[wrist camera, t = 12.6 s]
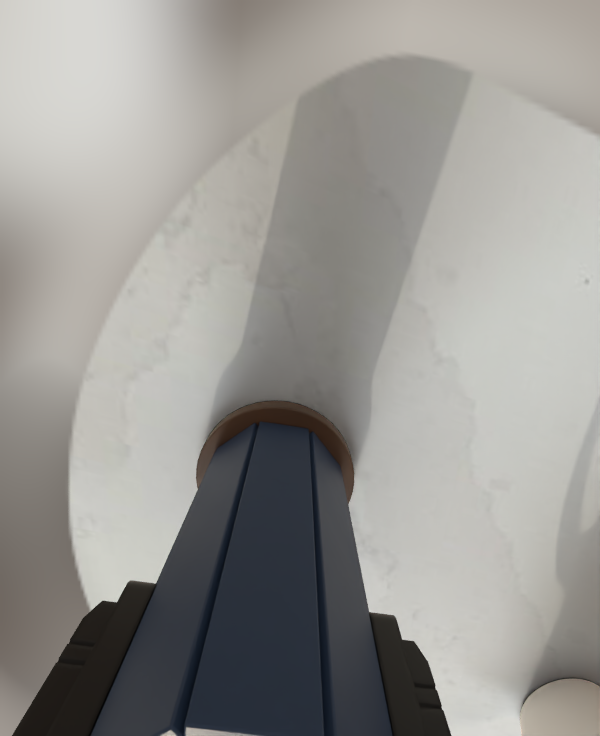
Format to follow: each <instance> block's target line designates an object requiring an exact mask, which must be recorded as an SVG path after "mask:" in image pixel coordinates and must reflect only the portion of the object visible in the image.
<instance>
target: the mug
mask: <svg viewBox="0 0 600 736" xmlns="http://www.w3.org/2000/svg"><path fill="white" fill-rule="evenodd" d="M520 726H521V736H600V686H598V685H596V684H595V683H592V682H590V681H587V680H582V679H561V680H557V681H553V682H550V683H548V684H546V685H544V686H542V687H540V688H538V689H537V690H536V691H534V692H533V693H532V694H531V695H530V696H529V697H528V698H527V700H526V701H525V703H524V704H523V706H522V709H521V713H520Z"/></svg>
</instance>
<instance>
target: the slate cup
mask: <svg viewBox="0 0 600 736" xmlns="http://www.w3.org/2000/svg"><path fill="white" fill-rule="evenodd" d="M156 584H157V585H156V588H155V590H154V592H153V595H152V597H151V599H150V601H149V604H148V606H147V608H146V610H145V613H144V615H143V617H142V620H141V622H140V624H139V626H138V629H137V631H136V633H135V635H134V638H133V640H132V642H131V645H130V647H129V649H128V651H127V654H126V656H125V658H124V660H123V663H122V665H121V667H120V669H119V672H118V674H117V676H116V679H115V681H114V683H113V685H112V688H111V690H110V692H109V694H108V697H107V699H106V701H105V704H104V706H103V708H102V710H101V713H100V715H99V717H98V719H97V722H96V724H95V726H94V729H93V731H92V733H91V735H90V736H393V735H392V730H391V725H390V720H389V715H388V709H387V704H386V699H385V694H384V689H383V684H382V679H381V673H380V668H379V663H378V658H377V653H376V648H375V642H374V637H373V632H372V627H371V622H370V617H369V610H368V604H367V599H366V594H365V589H364V584H363V579H362V574H361V568H360V563H359V558H358V553H357V548H356V543H355V538H354V533H353V527H352V522H351V517H350V512H349V507H348V502H347V497H346V491H345V486H344V481H343V476H342V471H341V467H340V465H339V464H338V462H337V461H336V460H335V459H334V457H333V456H332V455H331V453H330V452H329V451H328V450H327V448H326V447H325V446H324V444H323V443H322V442H321V441H320V439H319V438H318V437H317V435H316V434H315V433H314V432H313V431H312V432H311V433H309V429H308V428H301V427H294V426H288V425H281V424H274V423H268V422H260V423H259V426H258V425H257V424H256V423H253V424H252V425H251V426H249V427H248V428H246V429H245V430H243V431H242V432H240V433H239V434H237V435H236V436H234V437H233V438H231V439H230V440H229V441H227V442H226V443H224V444H223V445H221V446H220V447H218V448H217V450H216V452H215V453H214V455H213V457H212V459H211V461H210V464H209V466H208V468H207V470H206V473H205V475H204V477H203V479H202V482H201V484H200V486H199V488H198V491H197V493H196V495H195V497H194V500H193V502H192V504H191V506H190V509H189V511H188V513H187V515H186V518H185V520H184V522H183V524H182V527H181V529H180V531H179V533H178V536H177V538H176V540H175V542H174V545H173V547H172V549H171V551H170V554H169V556H168V558H167V560H166V563H165V565H164V567H163V569H162V572H161V574H160V576H159V578H158V581H157V583H156Z"/></svg>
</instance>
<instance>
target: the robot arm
mask: <svg viewBox="0 0 600 736" xmlns="http://www.w3.org/2000/svg"><path fill="white" fill-rule="evenodd" d="M156 585H157V584H154V583H147V582H139V581H129V582H128V584H127V585H126V587H125V589H124V591H123V592H122V594H121V596H120V598H119V600H118V602H117V603H116V602H108V601H102V602H101V603H99V604H98V605H97V606H96V607H95V608H94V609H93V610H92V611H91V612H89V613H88V614H87V615H86V616H85V617H84V618H83V619H82V621H81V623H80V624H79V626H78V628H77V629H76V631H75V632H74V634H73V636H72V637H71V639H70V642H69V644H67V646H66V647H65V649H64V651H63V652H62V654H61V656H60V657H59V661H58V662H57V663H56V664H55V666H54V667H53V669H52V671H51V672H50V674H49V676H48V677H47V679H46V681H45V682H44V684H43V685H42V687H41V689H40V690H39V692H38V694H37V695H36V697H35V699H34V700H33V702H32V704H31V706H30V707H29V709H28V710H27V712H26V713H25V715H24V717H23V719H22V720H21V722H20V723H19V725H18V727H17V728H16V730H15V732H14V733H13V735H12V736H90V735H91V733H92V731H93V729H94V726H95V724H96V722H97V719H98V717H99V715H100V713H101V710H102V708H103V706H104V704H105V701H106V699H107V697H108V694H109V692H110V690H111V688H112V685H113V683H114V681H115V679H116V676H117V674H118V672H119V669H120V667H121V665H122V663H123V660H124V658H125V656H126V654H127V651H128V649H129V647H130V645H131V642H132V640H133V638H134V635H135V633H136V631H137V629H138V626H139V624H140V622H141V620H142V617H143V615H144V613H145V610H146V608H147V606H148V604H149V601H150V599H151V597H152V595H153V592H154V590H155V588H156ZM369 617H370V622H371V627H372V632H373V637H374V642H375V648H376V653H377V658H378V663H379V668H380V673H381V679H382V684H383V689H384V694H385V699H386V704H387V709H388V715H389V720H390V725H391V730H392V735H393V736H451V733H450V730H449V727H448V724H447V721H446V718H445V714H444V711H443V710H442V708H441V706H442V705H441V702H440V699H439V695H438V692H437V690H436V689H435V683H434V680H433V676H432V673H431V670H430V667H429V664H428V661H427V660H426V658H425V657H424V655H423V654H422V652H421V651H420V649H419V648H418V646H417V645H416V644H415V642H414V641H407V640H402V638H401V634H400V631H399V627H398V623H397V620H396V618H395V616H394V615H387V614H379V613H371V612H369Z"/></svg>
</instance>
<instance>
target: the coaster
mask: <svg viewBox="0 0 600 736" xmlns="http://www.w3.org/2000/svg"><path fill="white" fill-rule="evenodd" d="M260 422H268V423H274V424H281V425H288V426H294V427H301V428H308V429H309V433H311V432H312V431H313V432H314V433H315V434H316V435H317V437H318V438H319V439H320V441H321V442H322V443H323V444H324V446H325V447H326V448H327V450H328V451H329V452H330V453H331V455H332V456H333V457H334V459H335V460H336V461H337V462H338V464H339V465H340V467H341V471H342V476H343V481H344V486H345V491H346V497H347V502H348V503H349V501H350V499H351V495H352V492H353V486H354V469H353V463H352V459H351V456H350V452H349V449H348V446H347V444H346V442H345V440H344V438H343V437H342V435H341V434H340V432H339V431H338V430H337V429H336V427H335V426H334V425H333V424H332V423H331V422H330V421H329V420H327V419H326V418H325V417H324V416H322V415H321V414H319V413H318V412H316V411H314V410H312V409H310V408H308V407H305V406H302V405H299V404H295V403H291V402H284V401H265V402H259V403H254V404H251V405H247V406H245V407H242V408H240V409H238V410H236V411H234V412H233V413H231V414H229V415H228V416H227V417H225V418H224V419H223V420H222V421H221V422H220V423H219V424H218V425H217V426H216V427H215V428H214V429H213V431H212V432H211V434H210V435H209V437H208V439H207V440H206V442H205V444H204V446H203V448H202V450H201V453H200V456H199V459H198V463H197V469H196V480H197V488H199V486H200V484H201V482H202V479H203V477H204V475H205V473H206V470H207V468H208V466H209V464H210V461H211V459H212V457H213V455H214V453H215V452H216V450H217V448H218V447H220V446H221V445H223V444H224V443H226V442H227V441H229V440H230V439H231V438H233V437H234V436H236V435H237V434H239V433H240V432H242V431H243V430H245V429H246V428H248V427H249V426H251V425H252V424H253V423H256V424H257V425H258V426H259V423H260Z"/></svg>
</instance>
